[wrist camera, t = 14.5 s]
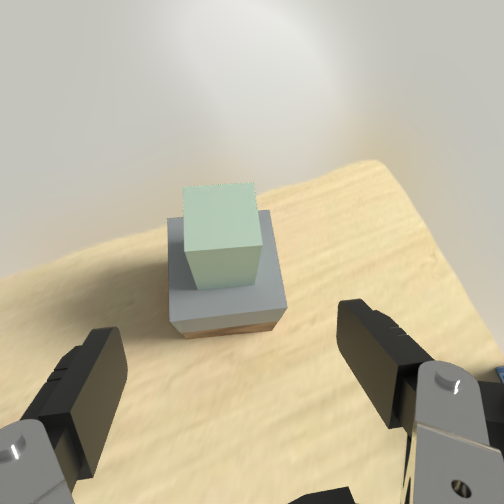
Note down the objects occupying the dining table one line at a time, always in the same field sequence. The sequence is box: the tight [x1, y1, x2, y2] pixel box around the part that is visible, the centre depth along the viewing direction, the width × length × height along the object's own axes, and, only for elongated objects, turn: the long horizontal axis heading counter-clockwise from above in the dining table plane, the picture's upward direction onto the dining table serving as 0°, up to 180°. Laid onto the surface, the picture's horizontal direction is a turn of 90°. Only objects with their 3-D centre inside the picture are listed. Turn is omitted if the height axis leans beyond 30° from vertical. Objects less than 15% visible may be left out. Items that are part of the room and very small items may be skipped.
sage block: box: [183, 183, 263, 290], centre depth 24 cm, size 5×5×8 cm
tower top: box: [167, 210, 287, 333], centre depth 30 cm, size 10×10×6 cm
